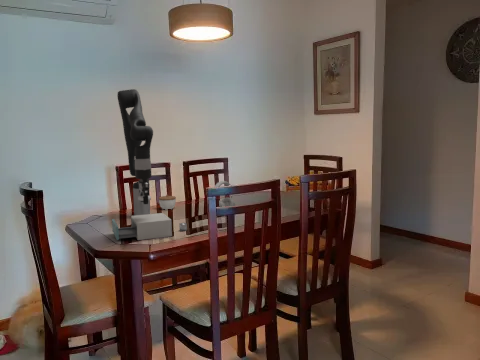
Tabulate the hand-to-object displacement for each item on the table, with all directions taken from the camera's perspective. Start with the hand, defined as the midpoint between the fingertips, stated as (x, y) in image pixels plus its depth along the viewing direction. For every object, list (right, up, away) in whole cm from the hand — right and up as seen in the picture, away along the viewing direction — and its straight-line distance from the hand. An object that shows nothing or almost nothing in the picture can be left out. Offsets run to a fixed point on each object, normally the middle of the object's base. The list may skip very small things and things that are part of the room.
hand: (144, 202), depth 194 cm
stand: (+17, -14, +9) cm, 24 cm away
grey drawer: (-6, -15, -1) cm, 16 cm away
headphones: (+36, -10, +47) cm, 60 cm away
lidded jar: (-1, -8, +66) cm, 66 cm away
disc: (0, +1, 0) cm, 1 cm away
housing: (+3, -15, +3) cm, 16 cm away
